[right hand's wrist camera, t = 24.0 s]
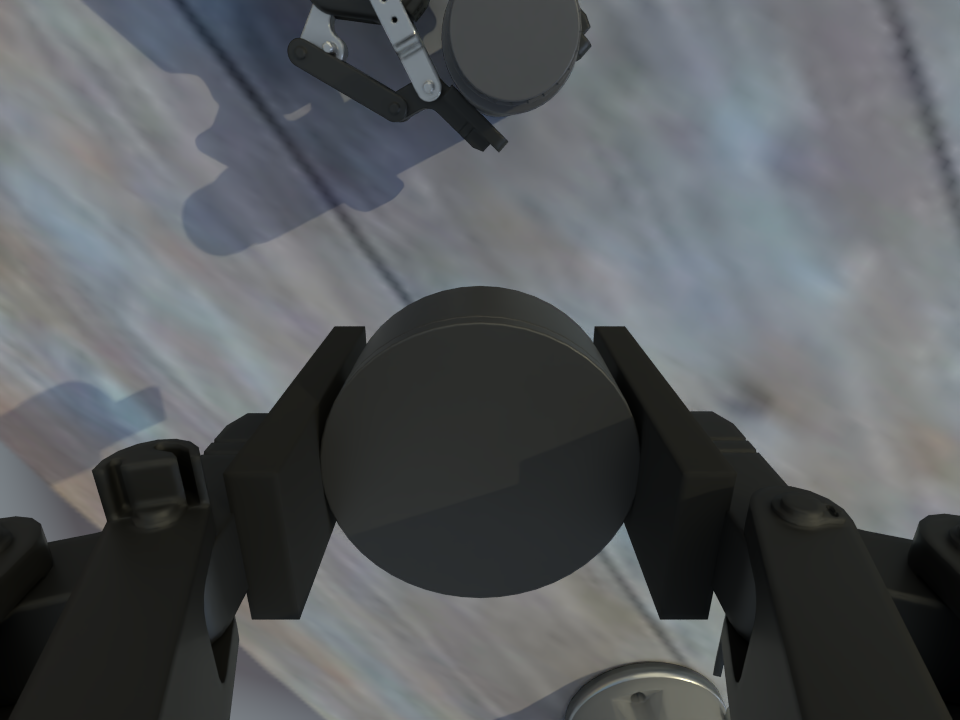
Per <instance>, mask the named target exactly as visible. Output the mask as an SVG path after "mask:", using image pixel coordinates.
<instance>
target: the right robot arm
mask: <svg viewBox="0 0 960 720" xmlns="http://www.w3.org/2000/svg"><path fill="white" fill-rule="evenodd" d="M593 343H594V345H595V347H596V348H597V350H598V351H599V353H600V355H601V357H602V358H603V360H604V362H605V364H606V366H607V367H608V369H609V371H610V373H611V375H612V376H613V378H614V380H615V382H616V384H617V385H618V387H619V389H620V391H621V393H622V395H623V396H624V398H625V400H626V402H627V404H628V406H629V409H630V411H631V413H632V415H633V418H634V420H635V424H636V428H637V431H638V435H639V441H640V450H641V454H640V464H639V472H638V480H637V488H636V495H635V498H634V501H633V504H632V506H631V509H630V511H629V513H628V515H627V517H626V519H625V520H624V524H625V527H626V529H627V532H628V535H629V537H630V540H631V543H632V545H633V548H634V551H635V553H636V556H637V559H638V561H639V564H640V567H641V569H642V572H643V575H644V578H645V580H646V583H647V586H648V588H649V591H650V594H651V596H652V599H653V602H654V604H655V607H656V610H657V612H658V615H659V618H660V619H708V616H709V611H710V606H711V601H712V596H713V591H714V592H715V594H716V596H717V598H718V600H719V602H720V604H721V606H722V608H723V610H724V612H725V619H724V624H723V628H722V633H721V637H720V642H719V647H718V651H717V656H716V661H715V666H714V672H713V675H715V676H719V677H721V674H722V669H723V665H724V669H725V677H726V686H727V694H728V702H729V707H728V709H727V710H726V708H725V705H724V703H723V700H722V698H721V696H720V694H719V692H718V690H717V688H716V687H715V686H714V685H713V684H712V683H711V682H710V681H709V680H708V679H707V678H705V677H704V676H703V675H701V674H699V673H698V672H695V671H693V670H691V669H688V668H685V667H682V666H678V665H674V664H667V663H639V664H633V665H627V666H623V667H620V668H617V669H613V670H611V671H608V672H606V673H604V674H602V675H600V676H598V677H596V678H595V679H593V680H591V681H590V682H589V683H587V684H586V685H585V686H584V687H582V688H581V689H580V690H579V691H578V692H577V694H576V695H575V696H574V697H573V699H572V701H571V702H570V704H569V706H568V709H567V712H566V717H565V720H960V516H958V515H950V514H937V515H928V516H927V517H925V518H924V519H922V520H921V521H920V522H919V524H918V527H917V530H916V533H915V536H914V538H913V540H910V539H905V538H899V537H894V536H889V535H884V534H879V533H874V532H869V531H864V530H860V529H857V528H856V526H855V524H854V522H853V520H852V519H851V518H850V516H849V515H848V514H847V513H846V512H845V510H844V509H843V508H841V507H840V506H838V505H837V504H835V503H834V502H832V501H831V500H829V499H827V498H825V497H823V496H820V495H818V494H816V493H813V492H811V491H808V490H804V489H800V488H796V487H791V486H788V485H787V484H786V483H785V482H784V481H783V480H782V479H781V477H780V476H779V475H778V474H777V473H776V472H775V471H774V469H773V468H772V467H771V466H770V465H769V464H768V463H767V461H766V460H765V459H764V458H763V457H762V456H761V455H760V454H759V453H756V449H755V448H754V447H753V446H752V444H751V443H750V442H749V441H746V438H745V437H744V435H743V434H742V433H741V432H740V431H739V430H738V429H737V427H736V426H735V425H734V424H733V423H731V422H729V421H728V420H726V419H724V418H723V417H721V416H719V415H717V414H716V413H714V412H712V411H689V410H688V408H687V407H686V406H685V405H684V403H683V402H682V401H681V399H680V398H679V397H678V395H677V394H676V393H675V391H674V390H673V389H672V388H671V386H670V385H669V384H668V382H667V381H666V380H665V378H664V377H663V376H662V374H661V373H660V372H659V370H658V369H657V368H656V367H655V365H654V364H653V363H652V361H651V360H650V359H649V357H648V356H647V355H646V353H645V352H644V351H643V349H642V348H641V347H640V346H639V344H638V343H637V342H636V340H635V339H634V338H633V336H632V335H631V334H630V332H629V331H628V330H627V328H626V327H625V326H595V329H594V341H593ZM365 346H366V333H365V326H335V327H334V328H333V329H332V331H331V332H330V333H329V335H328V336H327V337H326V338H325V340H324V341H323V342H322V344H321V345H320V346H319V348H318V349H317V350H316V352H315V353H314V354H313V356H312V357H311V358H310V359H309V361H308V362H307V363H306V365H305V366H304V367H303V369H302V370H301V371H300V373H299V374H298V375H297V377H296V378H295V379H294V380H293V382H292V383H291V384H290V386H289V387H288V388H287V390H286V391H285V392H284V394H283V395H282V396H281V398H280V399H279V400H278V401H277V403H276V404H275V405H274V407H273V408H272V409H271V411H270V412H269V413H247V414H246V415H244V416H242V417H241V418H239V419H237V420H235V421H234V422H232V423H230V424H229V425H227V426H226V427H225V428H224V429H223V430H222V432H221V433H220V434H219V435H218V436H217V437H216V439H215V440H214V443H211V444H210V445H209V447H208V448H207V449H206V450H205V451H204V455H201V456H200V452H199V447H197V446H196V445H195V444H193V443H192V442H190V441H185V440H179V439H163V440H154V441H149V442H145V443H140V444H136V445H133V446H131V447H128V448H125V449H123V450H120V451H118V452H116V453H114V454H112V455H111V456H109V457H107V458H105V459H104V460H102V461H101V462H100V463H99V464H98V465H97V466H96V467H95V468H94V469H93V470H92V473H93V476H94V479H95V483H96V486H97V489H98V493H99V496H100V499H101V503H102V506H103V509H104V512H105V516H106V519H107V523H106V525H105V527H104V529H103V531H102V532H98V533H94V534H89V535H84V536H79V537H74V538H69V539H63V540H58V541H53V542H48V543H47V540H46V537H45V534H44V531H43V529H42V526H41V524H40V523H39V522H37V521H36V520H34V519H33V518H27V517H17V516H15V517H8V518H0V720H230V712H231V704H232V695H233V687H234V679H235V670H236V662H237V654H238V645H239V635H238V628H237V624H236V619H235V614H236V612H237V610H238V608H239V606H240V604H241V602H242V600H243V598H244V596H245V594H246V592H247V597H248V602H249V607H250V612H251V617H252V619H300V617H301V614H302V611H303V609H304V606H305V603H306V601H307V598H308V595H309V593H310V590H311V587H312V585H313V582H314V579H315V577H316V574H317V571H318V569H319V566H320V563H321V560H322V558H323V555H324V552H325V550H326V547H327V544H328V542H329V539H330V536H331V534H332V531H333V528H334V526H335V523H336V519H335V517H334V515H333V513H332V512H331V510H330V507H329V504H328V501H327V499H326V496H325V493H324V488H323V482H322V475H321V466H320V448H321V439H322V435H323V431H324V427H325V423H326V420H327V417H328V415H329V413H330V410H331V408H332V406H333V404H334V402H335V400H336V398H337V396H338V394H339V392H340V391H341V389H342V387H343V385H344V383H345V381H346V380H347V378H348V376H349V374H350V372H351V371H352V369H353V367H354V365H355V363H356V361H357V360H358V358H359V356H360V354H361V353H362V351H363V349H364V348H365Z"/></svg>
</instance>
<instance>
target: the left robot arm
mask: <svg viewBox="0 0 960 720" xmlns="http://www.w3.org/2000/svg"><path fill="white" fill-rule="evenodd" d="M429 1H430V0H311V2H312V3H313V5H312V7H311V10H310V13H309V15H308V18H307V21H306V23H305V26H304V29H303V31H302V34H301V37H300V38H296V39H293V40H292V41H291V42H290V44H289V46H288V57H289V59H290V61H291V62H292V63H293V64H294V65H295V66H297V67H299V68H301V69H302V70H304V71H306V72H307V73H309V74H311V75H312V76H314V77H316V78H318V79H319V80H321V81H323V82H324V83H326V84H328V85H329V86H331V87H333V88H335V89H336V90H338V91H340V92H341V93H343V94H345V95H347V96H348V97H350V98H352V99H353V100H355V101H357V102H358V103H360V104H362V105H364V106H365V107H367V108H369V109H370V110H372V111H374V112H375V113H377V114H379V115H381V116H382V117H384V118H386V119H387V120H389V121H391V122H405V121H407V120H408V119H409V118H410V117H411V116H413V115H415V114H417V113H418V112H420V111H422V110H424V109H433V110H435V111H436V112H437V113H438V114H440V115H441V116H442V117H443V118H444V119H445V120H446V121H447V122H448V123H449V124H450V125H451V126H452V127H453V128H454V129H455V130H456V131H457V132H458V133H459V134H460V135H461V136H462V137H463V138H464V139H465V140H466V141H467V142H468V143H469V144H470V145H471V146H472V147H473V148H475V149H478V150H480V151H483V152H484V150H485V149H486V148H487V147H488V146H489V145H490V144H491V145H492V146H493V147H494V148H495V149H496V150H497V151H498V152H500V151H501V150H502V148H503V147H504V146H505V145H506V144H507V143H508V141H507V140H506V139H505V138H504V137H503V136H502V135H501V134H500V133H499V132H498V131H497V130H496V129H495V127H494V126H493V125H492V124H491V123H490V122H489V121H488V120H487V119H486V118H485V117H484V116H483V115H482V114H481V113H480V112H479V111H478V110H477V109H476V108H475V107H474V106H473V105H472V104H470V103H469V102H468V101H467V100H466V99H465V97H464V96H463V95H462V94H461V93H460V92H459V91H458V90H457V89H456V88H455V87H454V86H453V85H451V87H450V88H449V87H448V86H447V85H446V84H445V83H444V82H443V81H442V80H441V79H440V77H439V75H438V73H437V71H436V69H435V67H434V65H433V63H432V60H431V58H430V56H429V54H428V52H427V50H426V48H425V45H424V43H423V41H422V39H421V37H420V35H419V33H418V31H417V29H416V27H415V25H414V22H413V21H415V22H417V20H418V19H419V18H420V17H421V15H422V14H423V13H424V11H425V10H426V8H427V6H428V4H429ZM580 10H581V8H580ZM580 12H581V27H582V31H581V37H580V43H579V50H578V54H577V59H576V61H578V60H579V59H581V58H582V56H583V55H584V54H585V53H586V52H587V51H588V50H589V48H590V47H591V44H590V42H589V41H588V39H587V38H586V37H585V36H584V34H585V33H586V32H587V31H588V30H589V28H590V24H589V21H588V19H587V16H586V14H585V13H584V12H583V11H582V10H581V11H580ZM335 19H341V20H349V21H356V22H364V23H371V24H379V25H382V26H383V28H384V30H385V32H386V34H387V36H388V38H389V40H390V42H391V44H392V46H393V48H394V50H395V51H396V53H397V55H398V57H399V58H400V60H401V62H402V64H403V66H404V68H405V70H406V72H407V74H408V76H409V78H410V80H411V82H412V83H410V84H408V85H406V86H405V87H403V88H401V89H400V90H398V91H396V92H395V91H393V90H392V89H390V88H388V87H387V86H385V85H383V84H382V83H380V82H378V81H377V80H375V79H373V78H372V77H370V76H368V75H367V74H365V73H363V72H362V71H360V70H358V69H357V68H355V67H353V66H352V65H350V64H348V63H347V62H346V60H347V57H348V48H347V46H346V44H345V42H344V41H343V40H341V39H340V38H339V37H338V35H337V34H336V32H335V28H334V23H335Z"/></svg>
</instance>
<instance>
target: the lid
mask: <svg viewBox="0 0 960 720" xmlns="http://www.w3.org/2000/svg"><path fill="white" fill-rule="evenodd" d="M640 454H641V450H640V441H639V435H638V431H637V428H636V424H635V420H634V418H633V415H632V413H631V411H630V409H629V406H628V404H627V402H626V400H625V398H624V396H623V395H622V393H621V391H620V389H619V387H618V385H617V384H616V382H615V380H614V378H613V376H612V375H611V373H610V371H609V369H608V367H607V366H606V364H605V362H604V360H603V358H602V357H601V355H600V353H599V351H598V350H597V348H596V347H595V345H594V343H593V342H592V340H591V339H590V338H589V336H588V335H587V334H586V333H585V332H584V331H583V330H582V328H581V327H580V326H579V325H578V324H577V323H576V322H574V321H573V320H572V319H571V318H570V317H569V316H568V315H566V314H565V313H563V312H562V311H560V310H559V309H557V308H556V307H554V306H553V305H551V304H549V303H547V302H545V301H543V300H541V299H539V298H537V297H535V296H532V295H529V294H526V293H523V292H520V291H516V290H511V289H506V288H500V287H488V286H473V287H460V288H455V289H450V290H445V291H441V292H438V293H435V294H432V295H429V296H426V297H424V298H422V299H420V300H418V301H416V302H414V303H412V304H410V305H408V306H406V307H405V308H403V309H402V310H400V311H399V312H397V313H396V314H394V315H393V316H392V317H391V318H390V319H389V320H387V321H386V322H385V323H384V324H383V325H382V326H381V327H380V328H379V329H378V330H377V331H376V333H375V334H374V335H373V336H372V337H371V339H370V340H369V341H368V343H367V345H366V346H365V348H364V349H363V351H362V353H361V354H360V356H359V358H358V360H357V361H356V363H355V365H354V367H353V369H352V371H351V372H350V374H349V376H348V378H347V380H346V381H345V383H344V385H343V387H342V389H341V391H340V392H339V394H338V396H337V398H336V400H335V402H334V404H333V406H332V408H331V410H330V413H329V415H328V417H327V420H326V423H325V427H324V431H323V435H322V439H321V448H320V466H321V475H322V482H323V488H324V493H325V496H326V499H327V501H328V504H329V507H330V510H331V512H332V513H333V515H334V517H335V519H336V521H337V523H338V525H339V526H340V528H341V529H342V530H343V532H344V533H345V534H346V536H347V537H348V539H349V540H350V541H351V542H352V543H353V544H354V545H355V546H356V547H357V549H358V550H359V551H360V552H361V553H362V554H363V555H365V556H366V557H367V558H368V559H369V560H371V561H372V562H373V563H374V564H376V565H377V566H379V567H380V568H382V569H383V570H385V571H386V572H388V573H389V574H391V575H393V576H395V577H397V578H399V579H401V580H403V581H405V582H407V583H409V584H412V585H414V586H417V587H420V588H422V589H425V590H429V591H433V592H437V593H441V594H445V595H452V596H459V597H472V598H489V597H502V596H509V595H515V594H520V593H524V592H528V591H532V590H535V589H538V588H541V587H544V586H546V585H549V584H552V583H554V582H556V581H558V580H560V579H562V578H564V577H566V576H568V575H570V574H572V573H573V572H575V571H576V570H578V569H579V568H581V567H582V566H584V565H585V564H586V563H588V562H589V561H590V560H591V559H592V558H594V557H595V556H596V555H597V554H598V553H600V552H601V550H602V549H603V548H604V547H605V546H606V545H607V544H608V543H609V542H610V541H611V540H612V538H613V537H614V536H615V534H616V533H617V531H618V530H619V529H620V527H621V526H622V524H623V522H624V520H625V519H626V517H627V515H628V513H629V511H630V509H631V506H632V504H633V501H634V498H635V495H636V488H637V480H638V472H639V464H640Z"/></svg>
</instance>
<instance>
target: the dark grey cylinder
mask: <svg viewBox="0 0 960 720" xmlns="http://www.w3.org/2000/svg"><path fill="white" fill-rule="evenodd" d="M580 11H581V10H580V6H579V3H578V0H449V2H448V5H447V8H446V11H445V15H444V18H443V25H442V49H443V54H444V59H445V63H446V66H447V69H448V71H449V73H450V75H451V77H452V79H453V81H454V82H455V84H456V86H457V87H458V89H459V90H460V92H461V94H462V95H463V96H464V97H465V99H466V100H467V101H468V102H469V103H470V104H472V105H473V106H474V107H475V108H476V109H477V110H478V111H479V112H480V113H482V114H485V115H487V116H492V117H504V116H509V115H515V114H520V113H524V112H528V111H531V110H533V109H536V108H538V107H539V106H541V105H543V104H545V103H546V102H547V101H549V100H550V99H551V98H552V97H553V96H554V95H555V94H557V93H558V91H559V90H560V89H561V88H562V87H563V85H564V84H565V82H566V81H567V79H568V78H569V76H570V74H571V72H572V70H573V67H574V64H575V62H576V59H577V54H578V50H579V43H580V37H581V31H582V27H581V12H580Z"/></svg>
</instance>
